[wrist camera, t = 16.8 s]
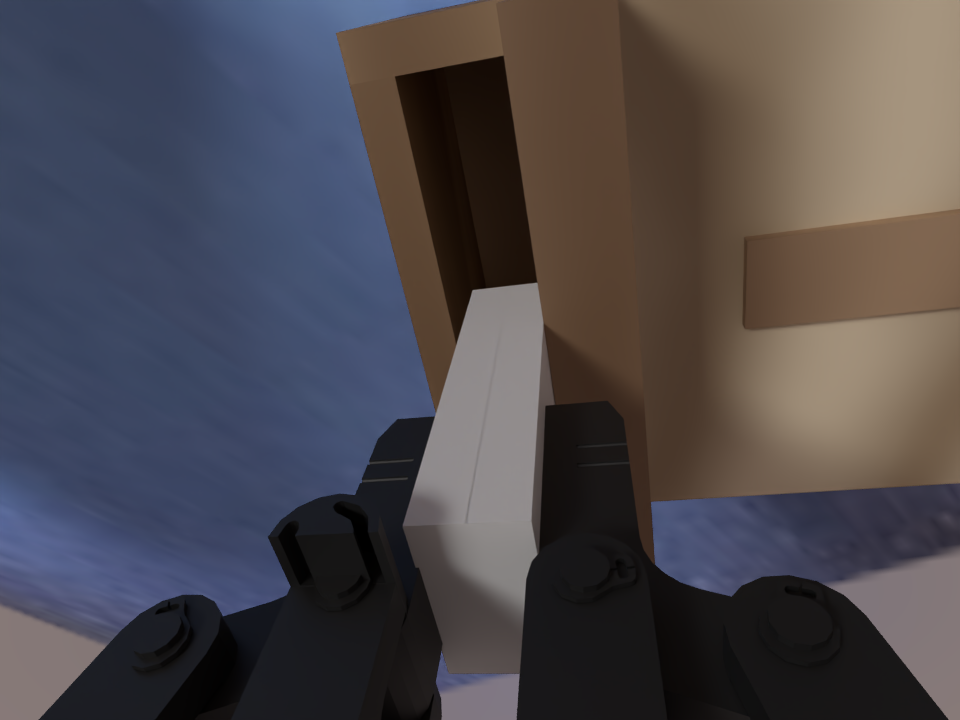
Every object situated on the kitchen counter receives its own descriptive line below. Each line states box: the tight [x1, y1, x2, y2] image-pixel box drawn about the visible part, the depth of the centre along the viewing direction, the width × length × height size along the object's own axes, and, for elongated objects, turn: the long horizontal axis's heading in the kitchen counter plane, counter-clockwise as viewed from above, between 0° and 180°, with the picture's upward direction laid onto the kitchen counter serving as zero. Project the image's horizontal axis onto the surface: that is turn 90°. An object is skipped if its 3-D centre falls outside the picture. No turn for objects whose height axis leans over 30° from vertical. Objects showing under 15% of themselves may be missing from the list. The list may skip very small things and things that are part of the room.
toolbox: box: [336, 0, 537, 412], centre depth 17 cm, size 18×12×7 cm, turn 100°
